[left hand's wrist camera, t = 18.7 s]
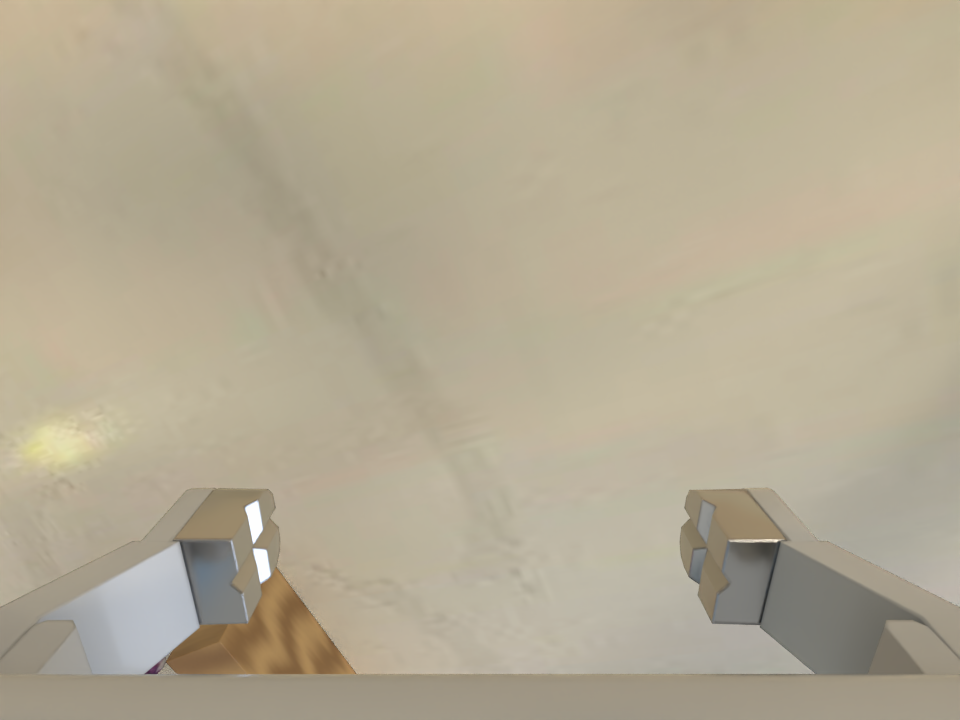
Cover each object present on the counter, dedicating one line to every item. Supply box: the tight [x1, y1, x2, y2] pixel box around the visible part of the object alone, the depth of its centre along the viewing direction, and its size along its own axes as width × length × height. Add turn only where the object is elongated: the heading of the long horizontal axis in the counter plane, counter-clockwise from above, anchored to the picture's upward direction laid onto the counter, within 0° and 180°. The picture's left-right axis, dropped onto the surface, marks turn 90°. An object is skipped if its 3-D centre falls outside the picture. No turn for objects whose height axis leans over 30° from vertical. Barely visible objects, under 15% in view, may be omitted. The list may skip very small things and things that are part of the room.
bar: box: [166, 568, 356, 674], centre depth 49 cm, size 26×5×9 cm, turn 25°
